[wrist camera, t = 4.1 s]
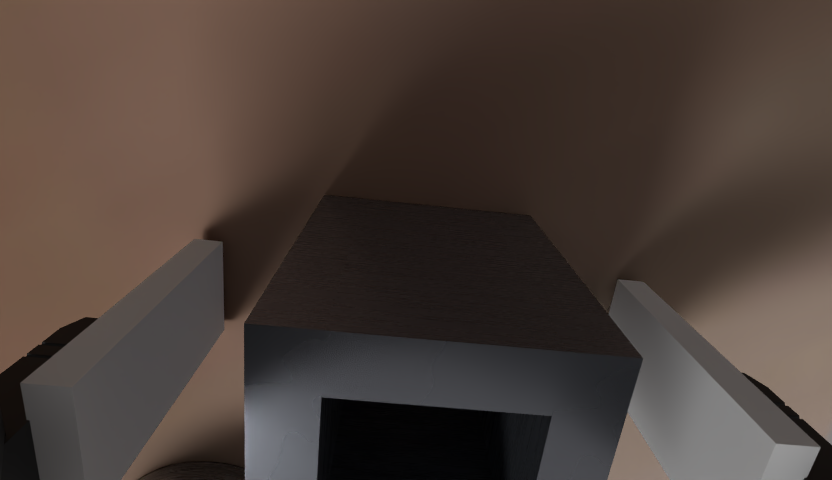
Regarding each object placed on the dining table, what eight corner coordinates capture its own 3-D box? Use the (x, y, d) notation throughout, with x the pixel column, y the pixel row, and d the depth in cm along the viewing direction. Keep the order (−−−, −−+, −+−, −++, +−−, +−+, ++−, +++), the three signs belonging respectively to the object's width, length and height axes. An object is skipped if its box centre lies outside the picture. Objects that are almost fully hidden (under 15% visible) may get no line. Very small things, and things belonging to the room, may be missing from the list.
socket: (324, 195, 13) (243, 323, 7) (530, 216, 14) (642, 358, 7) (315, 373, 15) (245, 608, 9) (497, 388, 16) (562, 628, 9)
